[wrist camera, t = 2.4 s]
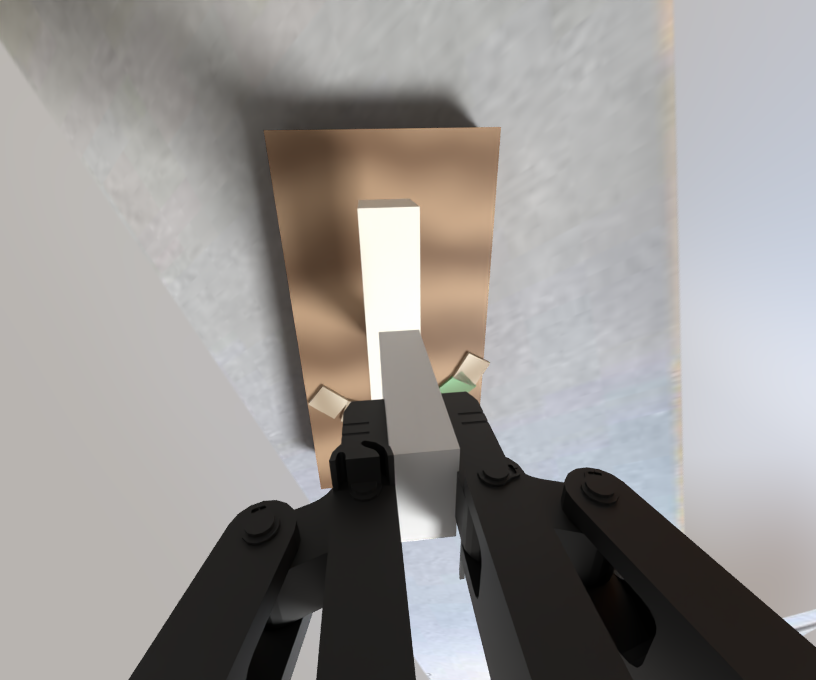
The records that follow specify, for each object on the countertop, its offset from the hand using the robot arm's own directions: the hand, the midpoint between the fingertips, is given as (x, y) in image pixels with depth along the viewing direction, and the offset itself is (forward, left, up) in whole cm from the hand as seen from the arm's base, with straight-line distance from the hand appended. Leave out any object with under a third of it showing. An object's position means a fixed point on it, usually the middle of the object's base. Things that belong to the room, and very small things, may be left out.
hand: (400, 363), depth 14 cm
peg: (+4, 0, -13) cm, 13 cm away
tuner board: (+5, +1, -17) cm, 18 cm away
